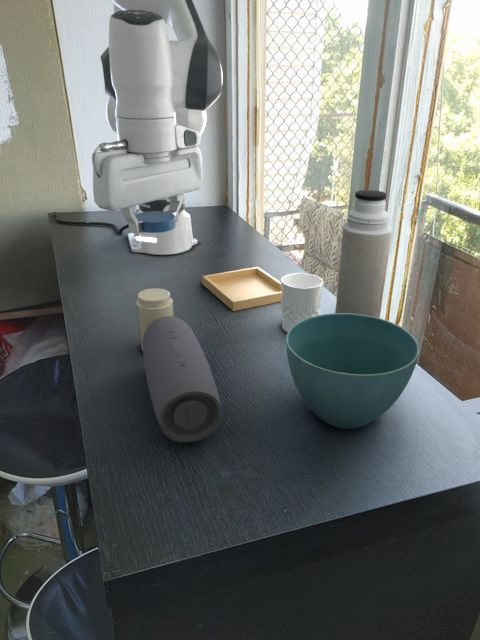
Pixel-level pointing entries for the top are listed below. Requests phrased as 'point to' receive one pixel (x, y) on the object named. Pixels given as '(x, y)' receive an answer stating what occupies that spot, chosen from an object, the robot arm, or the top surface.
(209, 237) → the top surface
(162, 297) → the jar
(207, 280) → the tray
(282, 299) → the white cup
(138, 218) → the jar lid
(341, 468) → the top surface
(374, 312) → the thermos bottle
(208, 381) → the bluetooth speaker
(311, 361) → the teal bowl
